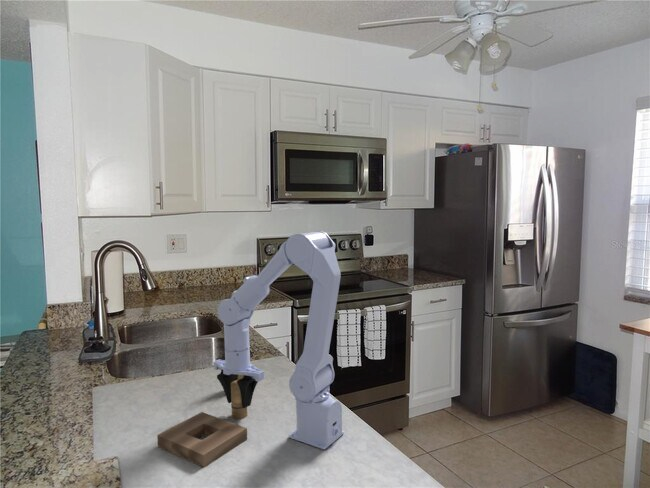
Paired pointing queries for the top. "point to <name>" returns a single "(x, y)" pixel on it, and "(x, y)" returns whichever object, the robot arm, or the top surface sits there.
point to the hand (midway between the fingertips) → (239, 403)
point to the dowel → (237, 402)
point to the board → (209, 449)
